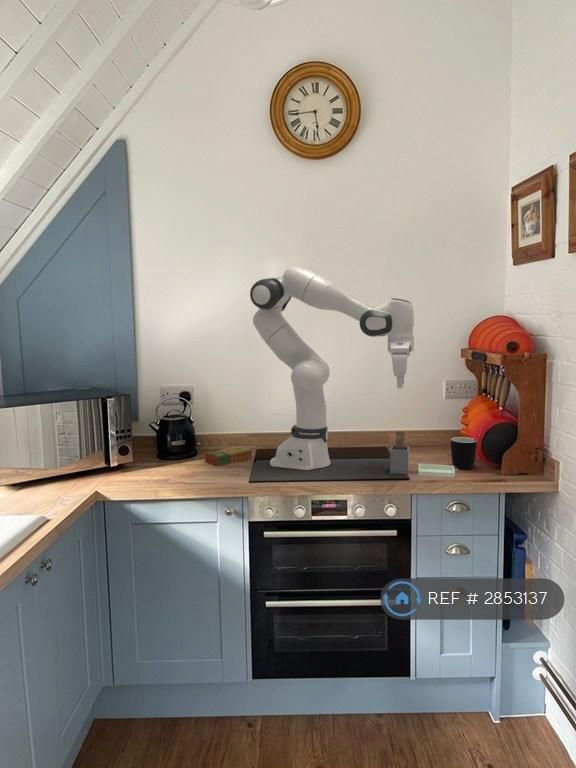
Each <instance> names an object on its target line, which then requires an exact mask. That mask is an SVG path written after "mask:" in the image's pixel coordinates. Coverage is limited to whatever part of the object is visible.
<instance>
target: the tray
mask: <svg viewBox="0 0 576 768" xmlns="http://www.w3.org/2000/svg"><path fill="white" fill-rule="evenodd" d="M417 473H418V475H417V476H420V477H435V478H437V477H438V478H452V479H453V478H454V479H455V478H456V472H455V466H454V465H453V464H452V465H449V464H428V463H418V471H417Z"/></svg>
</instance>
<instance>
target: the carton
mask: <svg viewBox="0 0 576 768" xmlns="http://www.w3.org/2000/svg"><path fill="white" fill-rule="evenodd" d="M252 458H253V457H252V449H251V448H248V447H246V446H242V445H237V446H231V447H227V448H226V447H225V448H223V449H218V450H213V451H208V452H205V455H204V460H205V461H204V462H205V463H206V464H210V465H214V466H216V467H220V466H224V465H229V464H235V463H239V462H243V461H249V460H252Z"/></svg>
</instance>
